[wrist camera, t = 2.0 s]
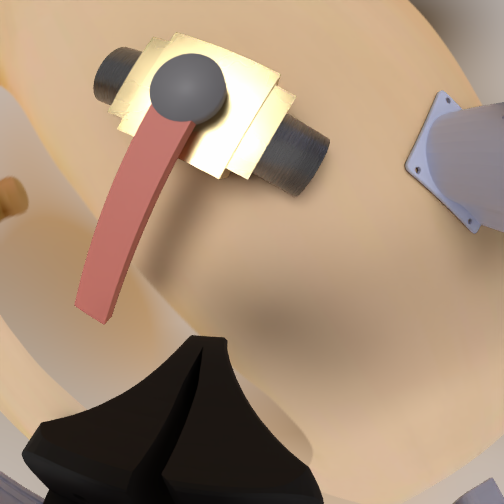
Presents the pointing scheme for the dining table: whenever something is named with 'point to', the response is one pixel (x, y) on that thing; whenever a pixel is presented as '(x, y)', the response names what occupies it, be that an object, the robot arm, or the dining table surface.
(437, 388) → the dining table surface
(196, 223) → the dining table surface
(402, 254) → the dining table surface
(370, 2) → the dining table surface
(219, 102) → the lever
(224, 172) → the valve fixture
